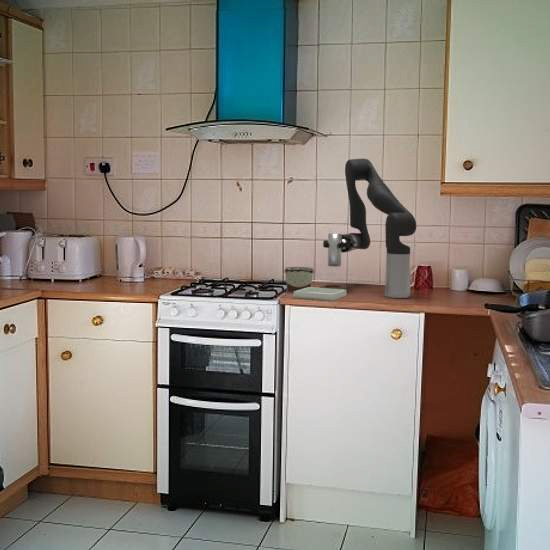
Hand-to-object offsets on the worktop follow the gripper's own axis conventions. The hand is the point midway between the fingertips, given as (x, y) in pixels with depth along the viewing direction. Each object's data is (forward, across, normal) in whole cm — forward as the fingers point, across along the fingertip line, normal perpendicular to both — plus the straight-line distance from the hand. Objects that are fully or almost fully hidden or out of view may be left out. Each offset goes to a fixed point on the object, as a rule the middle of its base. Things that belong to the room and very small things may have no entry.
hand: (332, 245), depth 307 cm
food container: (+2, -13, +20) cm, 24 cm away
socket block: (-3, 0, +20) cm, 20 cm away
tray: (+12, 0, +20) cm, 23 cm away
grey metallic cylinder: (-3, 0, +8) cm, 9 cm away
